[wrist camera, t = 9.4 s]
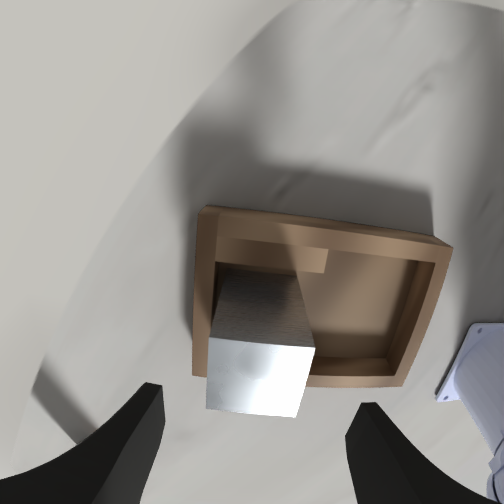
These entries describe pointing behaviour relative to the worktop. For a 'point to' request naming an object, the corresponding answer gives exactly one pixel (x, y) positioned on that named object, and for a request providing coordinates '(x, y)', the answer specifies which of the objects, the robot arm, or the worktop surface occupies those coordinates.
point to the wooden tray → (328, 288)
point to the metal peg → (259, 345)
